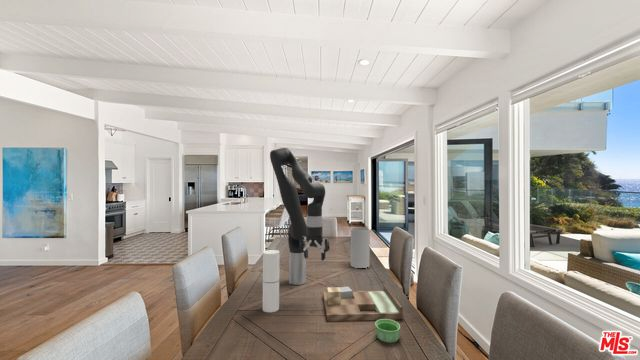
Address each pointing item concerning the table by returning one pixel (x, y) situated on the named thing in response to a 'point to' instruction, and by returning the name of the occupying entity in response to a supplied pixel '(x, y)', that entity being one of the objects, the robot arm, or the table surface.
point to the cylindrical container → (270, 280)
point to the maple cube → (334, 295)
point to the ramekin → (387, 330)
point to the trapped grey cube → (346, 293)
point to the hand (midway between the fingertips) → (314, 259)
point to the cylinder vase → (360, 247)
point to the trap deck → (365, 306)
